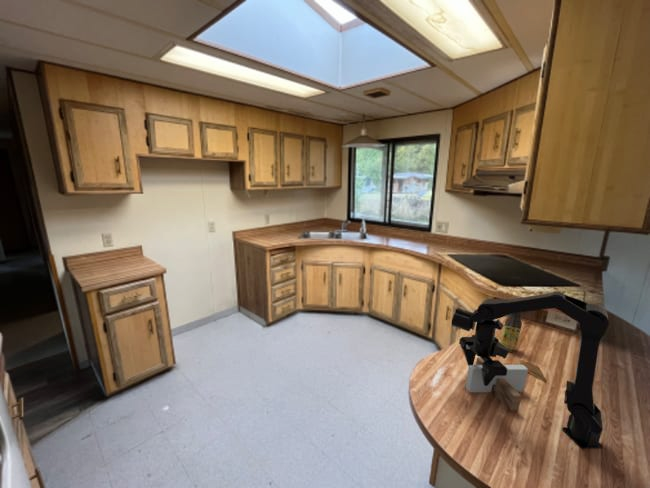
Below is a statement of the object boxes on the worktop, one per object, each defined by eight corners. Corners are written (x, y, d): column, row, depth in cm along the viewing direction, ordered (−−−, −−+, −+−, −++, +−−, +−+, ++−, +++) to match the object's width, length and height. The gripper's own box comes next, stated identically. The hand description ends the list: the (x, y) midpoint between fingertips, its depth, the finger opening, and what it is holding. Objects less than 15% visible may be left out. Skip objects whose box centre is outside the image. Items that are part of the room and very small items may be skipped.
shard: (546, 384, 105) (547, 380, 104) (522, 379, 107) (523, 374, 107) (536, 367, 115) (537, 363, 114) (514, 362, 117) (515, 358, 117)
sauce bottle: (499, 350, 125) (507, 308, 121) (498, 343, 130) (506, 303, 126) (517, 354, 122) (525, 312, 118) (515, 347, 128) (523, 306, 123)
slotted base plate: (517, 411, 91) (521, 395, 90) (510, 411, 91) (513, 395, 89) (481, 371, 110) (483, 357, 109) (474, 371, 110) (477, 357, 109)
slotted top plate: (469, 392, 99) (472, 369, 97) (465, 387, 101) (468, 365, 99) (523, 391, 100) (528, 369, 98) (518, 386, 102) (523, 364, 100)
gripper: (527, 352, 87) (518, 395, 90) (490, 322, 105) (483, 359, 109) (493, 352, 86) (485, 396, 90) (461, 322, 105) (455, 360, 108)
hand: (477, 376), depth 99 cm, fingers open, 9 cm apart
